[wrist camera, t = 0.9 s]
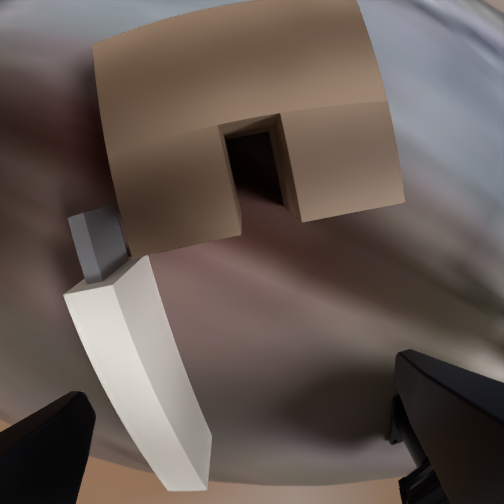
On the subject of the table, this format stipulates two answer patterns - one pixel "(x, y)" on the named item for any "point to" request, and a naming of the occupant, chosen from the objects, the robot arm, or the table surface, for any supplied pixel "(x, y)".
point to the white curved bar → (137, 352)
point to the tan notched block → (243, 117)
